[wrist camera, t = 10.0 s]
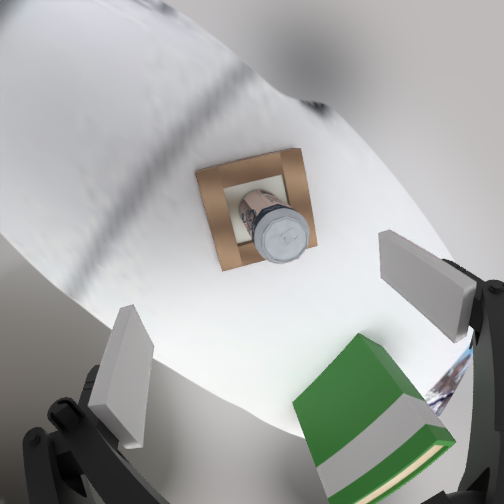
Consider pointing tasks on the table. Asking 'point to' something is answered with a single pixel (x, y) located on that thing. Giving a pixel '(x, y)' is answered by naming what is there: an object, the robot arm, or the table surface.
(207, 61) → the table surface
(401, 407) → the hardback book
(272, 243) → the beer can
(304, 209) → the picture frame
